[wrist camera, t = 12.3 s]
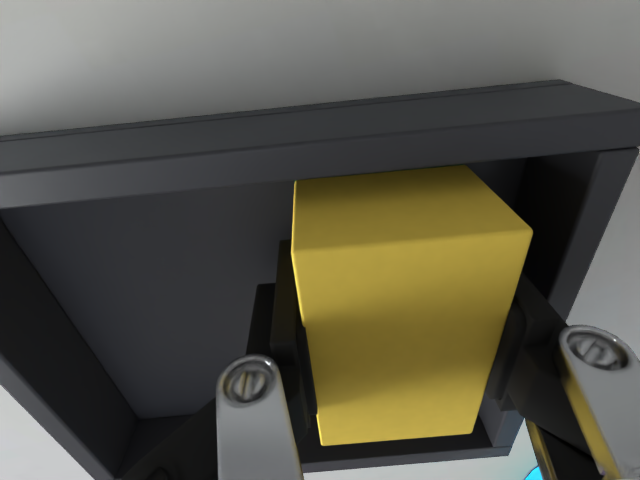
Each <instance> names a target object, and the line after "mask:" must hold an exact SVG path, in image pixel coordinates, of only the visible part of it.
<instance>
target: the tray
mask: <svg viewBox="0 0 640 480" xmlns="http://www.w3.org/2000/svg"><path fill="white" fill-rule="evenodd" d="M638 146H640V103H639V102H636V101H632V100H629V99H625V98H622V97H618V96H615V95H611V94H608V93H604V92H601V91H597V90H594V89H590V88H587V87H583V86H579V85H576V84H573V83H570V82H567V81H563V80H550V81H540V82H530V83H520V84H510V85H501V86H491V87H481V88H471V89H461V90H451V91H442V92H432V93H422V94H412V95H402V96H392V97H382V98H373V99H363V100H353V101H343V102H333V103H323V104H313V105H304V106H294V107H284V108H274V109H264V110H254V111H245V112H235V113H225V114H215V115H205V116H195V117H185V118H176V119H166V120H156V121H146V122H136V123H126V124H116V125H107V126H97V127H87V128H77V129H67V130H57V131H47V132H38V133H28V134H18V135H8V136H0V385H1V386H2V387H3V388H4V389H5V390H6V391H7V392H8V393H9V394H10V395H11V396H12V397H13V398H14V399H15V400H16V401H17V402H18V403H19V404H20V405H21V406H22V407H23V408H24V409H25V410H26V411H27V412H28V413H29V414H30V415H31V416H32V417H33V418H34V419H35V420H36V421H37V422H38V423H39V424H40V425H41V426H42V427H43V428H44V429H45V430H46V431H47V432H48V433H49V434H50V435H51V436H52V437H53V438H54V439H55V440H56V441H57V442H58V443H59V444H60V445H61V446H62V447H63V448H64V449H65V450H66V451H67V452H68V453H69V454H70V455H71V456H72V457H73V458H74V459H75V460H76V461H77V462H78V463H79V464H80V465H81V466H82V467H83V468H84V469H85V470H86V471H87V472H88V473H89V474H90V475H91V476H92V477H93V478H94V479H95V480H121V479H122V478H123V476H124V475H125V474H126V473H127V472H128V471H129V470H130V469H131V468H132V467H133V466H134V465H135V464H136V463H137V462H138V461H140V460H141V459H142V458H143V457H144V456H145V455H147V454H148V453H149V452H150V451H151V450H153V449H154V448H155V447H156V446H157V445H159V444H160V443H161V442H162V441H163V440H164V439H166V438H167V437H168V436H169V435H170V434H172V433H173V432H174V431H175V430H176V429H178V428H179V427H180V426H181V425H182V424H183V423H185V422H186V421H187V420H188V419H189V418H191V417H192V416H193V415H194V414H195V413H197V412H198V411H199V410H200V409H201V408H203V407H204V406H205V405H206V404H207V403H208V402H210V401H211V400H212V399H213V398H214V397H216V383H217V379H218V377H219V375H220V373H221V371H222V370H223V369H224V368H225V367H226V366H227V365H228V364H229V363H230V362H232V361H233V360H235V359H236V358H238V357H241V356H243V355H246V349H247V343H248V337H249V330H250V324H251V318H252V312H253V306H254V300H255V294H256V288H257V285H258V284H266V283H276V273H277V263H278V253H279V243H280V240H287V239H292V223H293V202H294V183H295V180H303V179H313V178H324V177H334V176H344V175H354V174H364V173H375V172H385V171H395V170H405V169H415V168H426V167H436V166H446V165H456V164H464V165H466V166H467V167H468V168H469V169H470V170H472V171H473V172H474V173H475V174H476V175H477V176H478V177H479V178H480V179H481V180H482V181H483V182H484V183H485V184H486V185H487V186H488V187H489V188H490V189H491V190H492V191H493V192H494V193H495V194H496V195H497V196H498V197H499V198H501V199H502V200H503V201H504V202H505V203H506V204H507V205H508V206H509V207H510V208H511V209H512V210H513V211H514V212H515V213H516V214H517V215H518V216H519V217H520V218H521V219H522V220H523V221H524V222H525V223H526V224H527V225H528V226H529V227H531V228H532V230H533V235H532V238H531V242H530V245H529V248H528V251H527V255H526V258H525V261H524V264H523V268H522V271H523V273H524V274H525V275H526V276H527V277H528V279H529V280H530V281H531V282H532V283H533V285H534V286H535V287H536V288H537V289H538V291H539V292H540V293H541V294H542V295H543V296H544V298H545V299H546V300H547V301H548V302H549V304H550V305H551V306H552V307H553V308H554V310H555V311H556V312H557V313H558V314H559V315H560V317H561V318H562V319H563V320H564V321H565V322H566V320H567V318H568V315H569V313H570V311H571V308H572V306H573V304H574V301H575V299H576V297H577V294H578V292H579V290H580V287H581V285H582V283H583V280H584V278H585V276H586V273H587V271H588V269H589V267H590V264H591V262H592V260H593V257H594V255H595V253H596V250H597V248H598V246H599V243H600V241H601V239H602V236H603V234H604V232H605V229H606V227H607V225H608V222H609V220H610V218H611V216H612V213H613V211H614V209H615V206H616V204H617V202H618V199H619V197H620V195H621V192H622V190H623V188H624V185H625V183H626V181H627V178H628V176H629V174H630V171H631V169H632V167H633V165H634V162H635V160H636V158H637V155H638V153H639V149H638V148H637V147H638ZM523 420H524V417H522V416H521V415H520V414H519V413H518V411H517V410H513V411H500V409H499V407H498V405H497V403H496V401H495V399H489V397H488V396H487V394H486V393H485V392H484V395H483V398H482V402H481V405H480V408H479V411H478V415H477V418H476V421H475V424H474V428H473V431H472V433H470V434H459V435H447V436H435V437H423V438H412V439H400V440H388V441H376V442H364V443H352V444H340V445H328V446H322V445H321V441H320V435H319V429H318V422H317V416H316V415H310V427H311V428H307V429H308V433H307V435H306V436H305V437H304V438H303V439H302V440H301V441H300V442H299V443H298V445H297V448H298V453H299V458H300V462H301V467H302V472H303V473H310V472H322V471H334V470H345V469H357V468H369V467H381V466H393V465H404V464H416V463H428V462H440V461H452V460H463V459H475V458H487V457H499V456H508V455H509V453H510V451H511V448H512V445H513V443H514V440H515V438H516V436H517V433H518V431H519V429H520V426H521V424H522V422H523Z"/></svg>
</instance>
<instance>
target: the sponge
mask: <svg viewBox="0 0 640 480" xmlns="http://www.w3.org/2000/svg"><path fill="white" fill-rule="evenodd" d="M532 235H533V230H532V228H531V227H529V226H528V225H527V224H526V223H525V222H524V221H523V220H522V219H521V218H520V217H519V216H518V215H517V214H516V213H515V212H514V211H513V210H512V209H511V208H510V207H509V206H508V205H507V204H506V203H505V202H504V201H503V200H502V199H501V198H499V197H498V196H497V195H496V194H495V193H494V192H493V191H492V190H491V189H490V188H489V187H488V186H487V185H486V184H485V183H484V182H483V181H482V180H481V179H480V178H479V177H478V176H477V175H476V174H475V173H474V172H473V171H472V170H470V169H469V168H468V167H467V166H466V165H464V164H456V165H446V166H436V167H426V168H415V169H405V170H395V171H385V172H375V173H364V174H354V175H344V176H334V177H324V178H313V179H303V180H295V183H294V202H293V223H292V245H291V256H292V262H293V269H294V275H295V281H296V288H297V294H298V301H299V307H300V313H301V320H302V325H303V326H304V327H306V334H307V340H308V347H309V354H310V360H311V367H312V374H313V380H314V387H315V393H316V400H317V408H318V414H317V415H316V416H317V422H318V429H319V435H320V441H321V445H322V446H328V445H340V444H352V443H364V442H376V441H388V440H400V439H412V438H423V437H435V436H447V435H459V434H470V433H472V431H473V428H474V424H475V421H476V418H477V415H478V411H479V408H480V405H481V402H482V398H483V395H484V392H485V388H486V385H487V382H488V379H489V375H490V372H491V369H492V366H493V362H494V359H495V356H496V353H497V349H498V346H499V343H500V340H501V336H502V333H503V330H504V326H505V323H506V320H507V317H508V313H509V310H510V307H511V304H512V300H513V297H514V294H515V291H516V287H517V284H518V281H519V277H520V274H521V271H522V268H523V264H524V261H525V258H526V255H527V251H528V248H529V245H530V242H531V238H532Z"/></svg>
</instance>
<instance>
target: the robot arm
mask: <svg viewBox="0 0 640 480" xmlns="http://www.w3.org/2000/svg"><path fill="white" fill-rule="evenodd" d="M291 245H292V239H287V240H280V243H279V253H278V263H277V273H276V283H266V284H258V285H257V288H256V294H255V300H254V306H253V312H252V318H251V324H250V330H249V337H248V343H247V349H246V355H243V356H241V357H238V358H236V359H235V360H233V361H232V362H230V363H229V364H228V365H227V366H226V367H225V368H224V369H223V370H222V371H221V373H220V375H219V377H218V379H217V383H216V397H214V398H213V399H212V400H211V401H210V402H208V403H207V404H206V405H205V406H204V407H203V408H201V409H200V410H199V411H198V412H197V413H195V414H194V415H193V416H192V417H191V418H189V419H188V420H187V421H186V422H185V423H183V424H182V425H181V426H180V427H179V428H178V429H176V430H175V431H174V432H173V433H172V434H170V435H169V436H168V437H167V438H166V439H164V440H163V441H162V442H161V443H160V444H159V445H157V446H156V447H155V448H154V449H153V450H151V451H150V452H149V453H148V454H147V455H145V456H144V457H143V458H142V459H141V460H140V461H138V462H137V463H136V464H135V465H134V466H133V467H132V468H131V469H130V470H129V471H128V472H127V473H126V474H125V475H124V476H123V478H122V479H121V480H304V476H303V472H302V467H301V462H300V458H299V453H298V448H297V445H298V443H299V442H300V441H301V440H302V439H303V438H304V437H305V436H306V435H307V433H308V429H307V428H311V427H310V415H317V414H318V408H317V400H316V393H315V387H314V380H313V374H312V367H311V360H310V354H309V347H308V340H307V334H306V327H304V326H303V325H302V320H301V313H300V307H299V301H298V294H297V288H296V281H295V275H294V269H293V262H292V256H291ZM485 393H486V394H487V396H488V397H489V399H495V401H496V403H497V405H498V407H499V409H500V411H513V410H517V411H518V413H519V414H520V415H521V416H522V417H524V418H525V421H526V426H527V429H528V432H529V436H530V439H531V443H532V446H533V449H534V453H535V456H536V459H537V463H538V466H539V469H540V473H541V476H542V480H640V361H639V359H638V358H637V356H636V355H635V353H634V352H633V351H632V349H631V348H630V347H629V346H628V345H627V344H626V343H625V342H623V341H622V340H621V339H619V338H618V337H617V336H615V335H613V334H611V333H609V332H607V331H605V330H602V329H599V328H596V327H593V326H587V325H572V326H568V325H567V324H566V323H565V321H564V320H563V319H562V318H561V317H560V315H559V314H558V313H557V312H556V311H555V310H554V308H553V307H552V306H551V305H550V304H549V302H548V301H547V300H546V299H545V298H544V296H543V295H542V294H541V293H540V292H539V291H538V289H537V288H536V287H535V286H534V285H533V283H532V282H531V281H530V280H529V279H528V277H527V276H526V275H525V274H524V273H523V271H521V274H520V277H519V281H518V284H517V287H516V291H515V294H514V297H513V300H512V304H511V307H510V310H509V313H508V317H507V320H506V323H505V326H504V330H503V333H502V336H501V340H500V343H499V346H498V349H497V353H496V356H495V359H494V362H493V366H492V369H491V372H490V375H489V379H488V382H487V385H486V388H485Z"/></svg>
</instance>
